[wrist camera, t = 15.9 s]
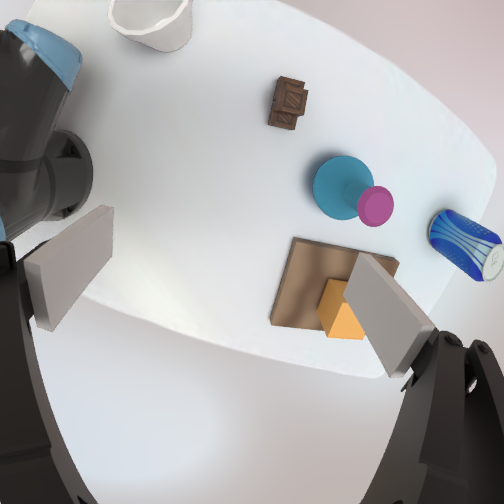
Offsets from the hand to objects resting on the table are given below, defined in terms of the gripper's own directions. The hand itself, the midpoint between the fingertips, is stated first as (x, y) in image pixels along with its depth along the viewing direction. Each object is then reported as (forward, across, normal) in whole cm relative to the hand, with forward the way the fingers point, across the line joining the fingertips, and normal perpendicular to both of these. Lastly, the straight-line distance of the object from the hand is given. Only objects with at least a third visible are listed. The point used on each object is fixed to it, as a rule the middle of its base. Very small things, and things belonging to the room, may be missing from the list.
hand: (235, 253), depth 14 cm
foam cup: (+29, -14, +20) cm, 38 cm away
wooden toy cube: (+26, +21, -16) cm, 37 cm away
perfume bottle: (+29, +15, +2) cm, 33 cm away
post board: (+29, +21, -16) cm, 39 cm away
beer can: (+29, +40, 0) cm, 49 cm away
